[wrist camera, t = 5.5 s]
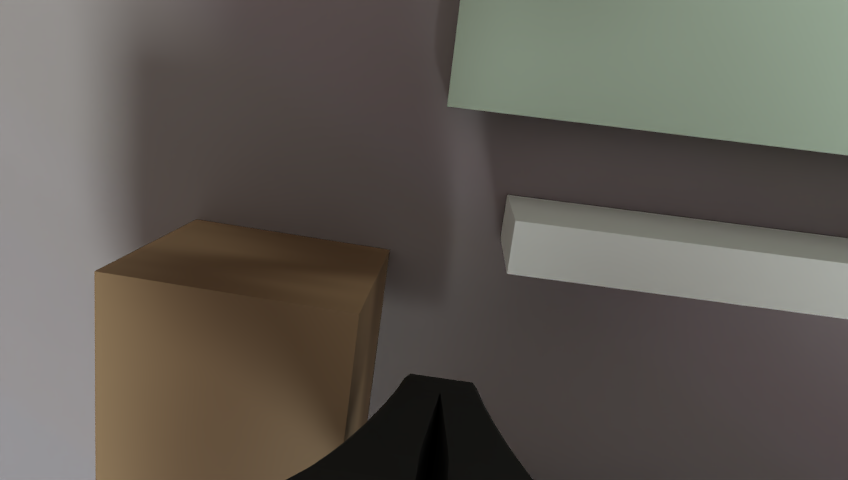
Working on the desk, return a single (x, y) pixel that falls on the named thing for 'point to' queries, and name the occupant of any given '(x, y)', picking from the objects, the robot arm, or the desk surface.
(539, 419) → the desk surface
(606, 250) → the parallel rails
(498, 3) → the mat
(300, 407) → the walnut block
